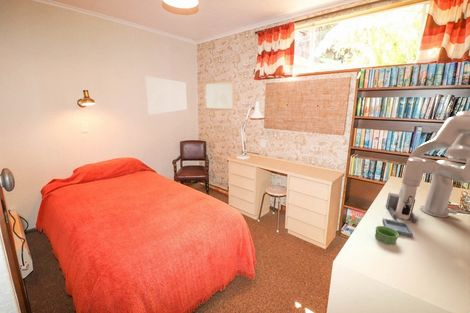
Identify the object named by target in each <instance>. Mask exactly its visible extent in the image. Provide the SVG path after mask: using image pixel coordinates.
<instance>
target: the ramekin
mask: <svg viewBox="0 0 470 313" xmlns="http://www.w3.org/2000/svg"><path fill="white" fill-rule="evenodd" d="M374 236H375V239H376V240H378V241H379V242H380V243H382V244H385V245H395V244H396V243H397V241H398V238H399V237H400V235H399V234H398V232H396V231H395V230H393V229H391V228H389V227H385V226H384V225H377V226H376V227H375V234H374Z"/></svg>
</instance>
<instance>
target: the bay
mask: <svg viewBox="0 0 470 313" xmlns="http://www.w3.org/2000/svg"><path fill="white" fill-rule="evenodd" d="M398 195H399V193H397V194H396V193H391V192H388V195H387V200H386V204H385V207H386V210H387V211H388V212H389V213H390V215H391V217H392V220H396V219H397V215H396V209H397V205H398V201H399V196H398ZM415 204H416V199H414V203H413V207H412V210H411V214H410V218H409V219H410V220H411V221H412V223H413V224H417V222H418V218H417V217H416V215H415V214H414V212H413V211H414V210H413V209H414V207H415Z"/></svg>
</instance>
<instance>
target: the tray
mask: <svg viewBox="0 0 470 313" xmlns="http://www.w3.org/2000/svg"><path fill="white" fill-rule="evenodd" d="M382 224H383V225H382V226H385V227H389V228H391V229H393V230H395V231H396V232H398V234H399V236H403V237H407V238H411V239H413V237H414V232H413V230H412V229H411V227H410V226H409V224H408V223H407V222H402V221H398V220H395V219H389V218H384V217H382Z"/></svg>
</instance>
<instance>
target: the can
mask: <svg viewBox="0 0 470 313" xmlns="http://www.w3.org/2000/svg"><path fill="white" fill-rule="evenodd" d="M406 202H408V201H406ZM406 205H408V204H406ZM403 207H404V202H402V201H401V199H400V198H399V201H398V205H397V209H396V211H395V213H396V215H397V216H396V218H399V219H401V220H409V219H411V218H410V214H411V210H412V207H413V204H412V206H411V209H410V213H409V215H404V214H402V209H403ZM413 208H414V207H413Z"/></svg>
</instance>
